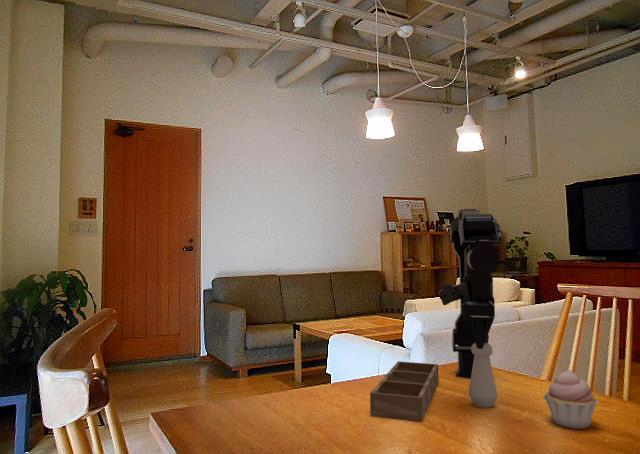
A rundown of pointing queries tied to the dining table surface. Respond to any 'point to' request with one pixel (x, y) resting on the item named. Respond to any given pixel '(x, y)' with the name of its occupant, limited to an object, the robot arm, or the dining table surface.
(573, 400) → the cupcake
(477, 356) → the salt shaker
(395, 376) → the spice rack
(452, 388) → the dining table surface
